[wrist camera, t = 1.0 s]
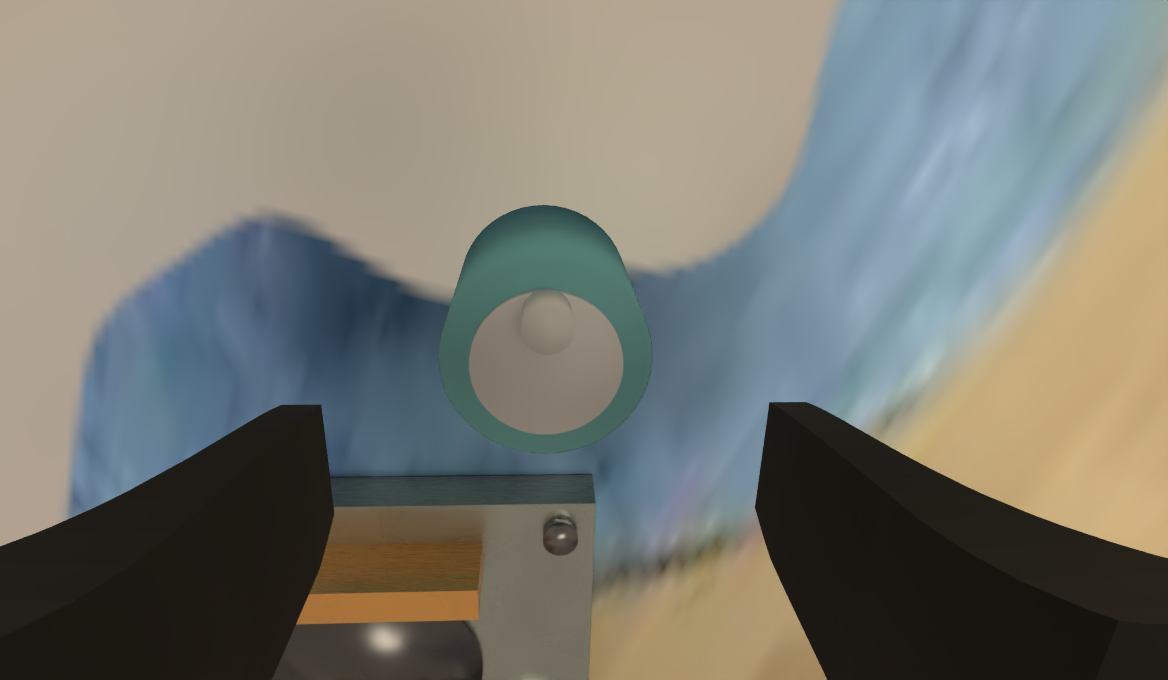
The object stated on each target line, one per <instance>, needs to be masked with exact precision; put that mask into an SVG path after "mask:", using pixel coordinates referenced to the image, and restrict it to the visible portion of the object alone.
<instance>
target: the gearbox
mask: <svg viewBox="0 0 1168 680" xmlns="http://www.w3.org/2000/svg"><path fill="white" fill-rule="evenodd" d="M330 481H331V489H332V498H333V506H334V518H333V522H332V526H331V529H330V533H329V537H328V541H327V545H326V549H325V552H324V556H323V559H322V563H321V566H320V569H319V572H318V574H317V576H316V579H315V581H314V584H313V586H312V588H311V591H310V593H309V595H308V598H307V600H306V602H305V605H304V607H303V610H302V612H301V614H300V616H299V619H298V621H297V623H296V626H295V628H294V630H293V632H292V635H291V637H290V639H289V642H288V644H287V646H286V649H285V651H284V653H283V655H282V658H281V660H280V662H279V665H278V667H277V669H276V671H275V674H274V676H273V678H272V680H589V657H590V632H591V606H592V581H593V555H594V530H595V505H596V503H595V496H594V488H593V480H592V475H524V476H435V477H347V478H330Z"/></svg>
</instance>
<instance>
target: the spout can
mask: <svg viewBox="0 0 1168 680" xmlns="http://www.w3.org/2000/svg"><path fill="white" fill-rule="evenodd" d="M651 366H652V344H651V337H650V333H649V330H648V326H647V323H646V320H645V318H644V315H643V313H642V310H641V308H640V305H639V303H638V300H637V297H636V295H635V292H634V290H633V287H632V285H631V282H630V280H629V277H628V274H627V272H626V269H625V267H624V264H623V262H622V259H621V257H620V255H619V252H618V250H617V248H616V246H615V245H614V243H613V242H612V240H611V238H610V237H609V236H608V235H607V234H606V233H605V231H604V230H603V229H601V227H599V226H598V225H597V224H596V223H595V222H593V221H592V220H590V219H589V218H587V217H586V216H584V215H582V214H580V213H578V212H575V211H572V210H569V209H566V208H562V207H557V206H548V205H538V206H529V207H524V208H520V209H517V210H514V211H511V212H509V213H507V214H505V215H503V216H501V217H499V218H498V219H496V220H495V221H493V222H492V223H491V224H489V225H488V226H487V227H486V228H485V229H484V230H483V231H482V232H481V233H480V234H479V235H478V236H477V238H476V239H475V241H474V242H473V244H472V245H471V247H470V249H469V251H468V253H467V255H466V259H465V261H464V265H463V268H462V271H461V274H460V277H459V280H458V283H457V286H456V290H455V293H454V296H453V299H452V302H451V306H450V309H449V312H448V315H447V318H446V321H445V325H444V328H443V331H442V334H441V339H440V345H439V367H440V375H441V378H442V382H443V385H444V388H445V390H446V393H447V395H448V397H449V399H450V401H451V402H452V404H453V406H454V407H455V409H456V410H457V411H458V413H459V414H460V415H461V416H462V418H463V419H464V420H465V421H466V422H467V423H468V424H469V425H470V426H471V427H472V428H474V429H475V430H476V431H478V432H479V433H480V434H482V435H483V436H485V437H487V438H488V439H490V440H492V441H494V442H496V443H498V444H501V445H503V446H506V447H508V448H512V449H515V450H519V451H525V452H531V453H559V452H565V451H570V450H574V449H577V448H581V447H584V446H587V445H589V444H591V443H593V442H596V441H598V440H599V439H601V438H603V437H605V436H606V435H608V434H609V433H611V432H612V431H613V430H615V429H616V428H617V427H618V426H620V425H621V424H622V423H623V422H624V421H625V420H626V419H627V418H628V416H629V415H630V414H631V413H632V412H633V410H634V409H635V408H636V406H637V404H638V403H639V401H640V399H641V398H642V396H643V394H644V391H645V389H646V387H647V384H648V380H649V377H650V373H651Z"/></svg>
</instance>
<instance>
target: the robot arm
mask: <svg viewBox="0 0 1168 680" xmlns="http://www.w3.org/2000/svg"><path fill="white" fill-rule="evenodd" d="M755 509H756V512H757V516H758V519H759V523H760V526H761V530H762V533H763V537H764V540H765V543H766V546H767V549H768V552H769V555H770V558H771V561H772V563H773V565H774V568H775V570H776V572H777V574H778V576H779V579H780V581H781V583H782V585H783V587H784V589H785V591H786V594H787V596H788V598H789V600H790V602H791V604H792V606H793V608H794V611H795V613H796V615H797V617H798V619H799V621H800V623H801V625H802V627H803V629H804V631H805V634H806V636H807V638H808V640H809V642H810V644H811V646H812V648H813V650H814V653H815V655H816V657H817V659H818V661H819V663H820V665H821V667H822V669H823V671H824V674H825V676H826V678H827V680H1168V558H1164V557H1160V556H1157V555H1153V554H1149V553H1146V552H1143V551H1139V550H1136V549H1132V548H1129V547H1126V546H1122V545H1119V544H1116V543H1112V542H1109V541H1106V540H1103V539H1100V538H1097V537H1094V536H1091V535H1088V534H1085V533H1082V532H1079V531H1076V530H1073V529H1070V528H1067V527H1064V526H1061V525H1059V524H1056V523H1053V522H1050V521H1048V520H1045V519H1042V518H1040V517H1037V516H1034V515H1032V514H1029V513H1027V512H1024V511H1022V510H1020V509H1017V508H1015V507H1012V506H1010V505H1008V504H1005V503H1003V502H1000V501H998V500H995V499H993V498H991V497H988V496H986V495H984V494H981V493H979V492H977V491H975V490H973V489H970V488H968V487H966V486H964V485H962V484H960V483H958V482H956V481H954V480H952V479H950V478H948V477H946V476H944V475H942V474H940V473H938V472H936V471H934V470H932V469H930V468H928V467H926V466H924V465H922V464H920V463H918V462H916V461H915V460H913V459H911V458H909V457H907V456H905V455H903V454H902V453H900V452H898V451H896V450H894V449H893V448H891V447H889V446H887V445H885V444H884V443H882V442H880V441H878V440H877V439H875V438H873V437H871V436H870V435H868V434H866V433H864V432H863V431H861V430H859V429H857V428H855V427H854V426H852V425H850V424H848V423H847V422H845V421H843V420H841V419H840V418H838V417H836V416H834V415H832V414H830V413H828V412H827V411H825V410H823V409H821V408H818V407H816V406H814V405H812V404H809V403H807V402H770V403H769V410H768V418H767V425H766V432H765V439H764V447H763V454H762V461H761V468H760V476H759V483H758V490H757V497H756V504H755ZM333 518H334V506H333V498H332V489H331V481H330V473H329V465H328V457H327V449H326V440H325V432H324V424H323V416H322V408H321V405H280V406H278V407H276V408H274V409H272V410H270V411H268V412H266V413H264V414H262V415H260V416H259V417H257V418H255V419H253V420H252V421H250V422H248V423H247V424H245V425H243V426H241V427H240V428H238V429H236V430H235V431H233V432H232V433H230V434H228V435H227V436H225V437H223V438H221V439H220V440H218V441H216V442H215V443H213V444H211V445H210V446H208V447H206V448H205V449H203V450H201V451H200V452H198V453H196V454H195V455H193V456H191V457H190V458H188V459H186V460H184V461H183V462H181V463H179V464H177V465H175V466H173V467H172V468H170V469H168V470H166V471H164V472H162V473H161V474H159V475H157V476H155V477H153V478H151V479H149V480H148V481H146V482H144V483H142V484H140V485H138V486H137V487H135V488H133V489H131V490H129V491H127V492H125V493H123V494H121V495H119V496H117V497H115V498H113V499H111V500H109V501H107V502H105V503H103V504H101V505H99V506H97V507H95V508H93V509H91V510H88V511H86V512H84V513H81V514H79V515H77V516H75V517H72V518H70V519H68V520H66V521H63V522H61V523H59V524H57V525H55V526H52V527H50V528H47V529H45V530H42V531H40V532H38V533H35V534H33V535H30V536H27V537H24V538H22V539H19V540H16V541H14V542H11V543H8V544H6V545H3V546H0V680H272V678H273V676H274V674H275V671H276V669H277V667H278V665H279V662H280V660H281V658H282V655H283V653H284V651H285V649H286V646H287V644H288V642H289V639H290V637H291V635H292V632H293V630H294V628H295V626H296V623H297V621H298V619H299V616H300V614H301V612H302V610H303V607H304V605H305V602H306V600H307V598H308V595H309V593H310V591H311V588H312V586H313V584H314V581H315V579H316V576H317V574H318V572H319V569H320V566H321V563H322V559H323V556H324V552H325V549H326V545H327V541H328V537H329V533H330V529H331V526H332V522H333Z"/></svg>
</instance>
